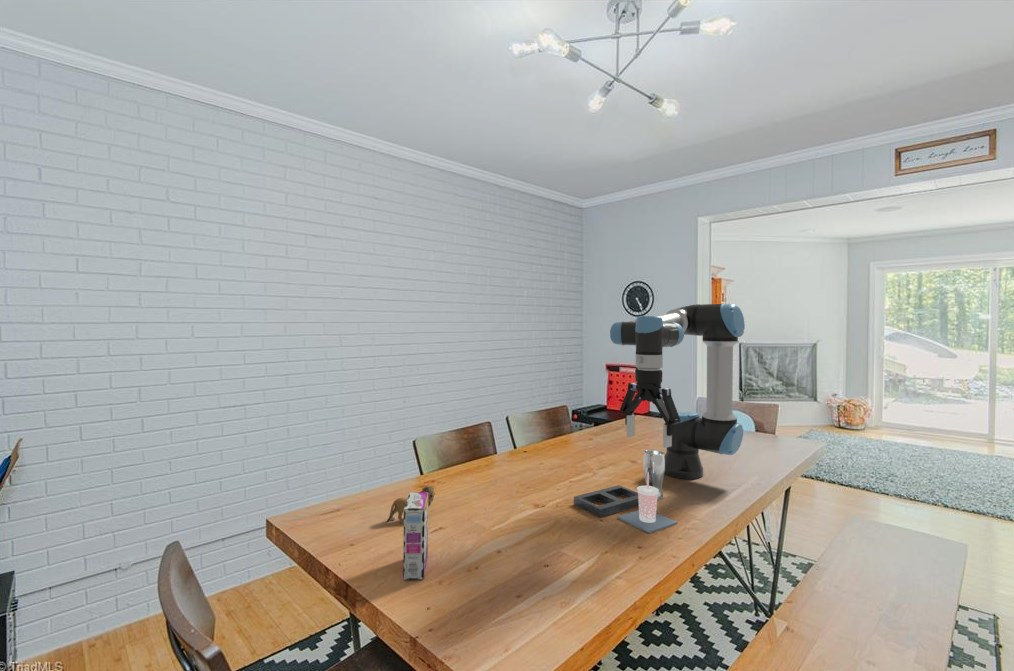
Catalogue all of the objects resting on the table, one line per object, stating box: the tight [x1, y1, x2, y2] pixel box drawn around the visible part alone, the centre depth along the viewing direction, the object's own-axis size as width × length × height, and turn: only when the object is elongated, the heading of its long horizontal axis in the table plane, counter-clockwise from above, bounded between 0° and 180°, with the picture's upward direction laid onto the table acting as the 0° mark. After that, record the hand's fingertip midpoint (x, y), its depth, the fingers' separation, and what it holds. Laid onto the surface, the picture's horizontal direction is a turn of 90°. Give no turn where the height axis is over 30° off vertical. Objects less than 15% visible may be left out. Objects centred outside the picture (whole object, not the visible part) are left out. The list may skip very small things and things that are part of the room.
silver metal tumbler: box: [642, 448, 665, 501], centre depth 158 cm, size 7×7×15 cm
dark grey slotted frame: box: [573, 484, 639, 518], centre depth 152 cm, size 20×12×2 cm, turn 122°
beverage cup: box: [636, 472, 659, 523], centre depth 139 cm, size 6×6×14 cm
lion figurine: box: [385, 485, 436, 524], centre depth 140 cm, size 15×5×9 cm, turn 120°
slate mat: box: [616, 509, 678, 535], centre depth 139 cm, size 12×12×1 cm
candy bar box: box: [402, 491, 429, 581], centre depth 112 cm, size 11×5×16 cm, turn 5°
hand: (648, 441), depth 139 cm, fingers open, 13 cm apart
